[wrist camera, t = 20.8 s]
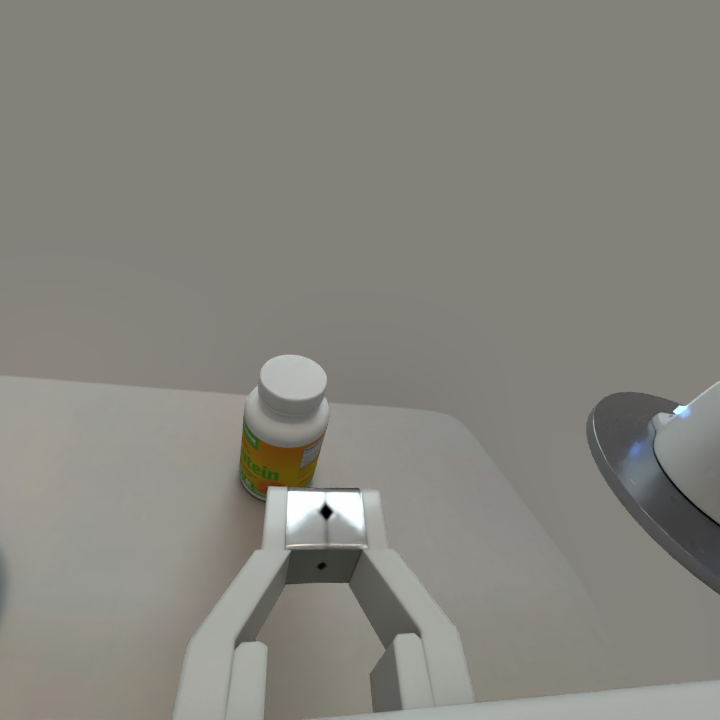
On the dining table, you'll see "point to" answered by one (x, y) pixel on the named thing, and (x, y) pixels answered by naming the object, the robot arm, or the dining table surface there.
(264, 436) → the supplement bottle
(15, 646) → the dining table surface
